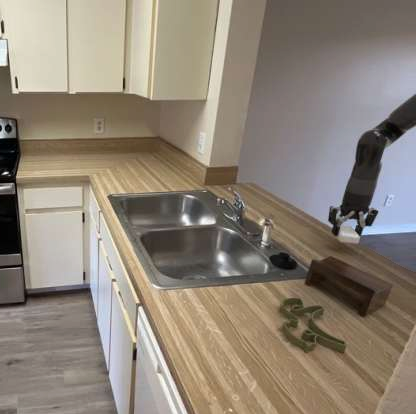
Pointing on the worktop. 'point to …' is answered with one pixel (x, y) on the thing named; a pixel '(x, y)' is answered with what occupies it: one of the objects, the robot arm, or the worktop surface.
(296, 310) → the cookie cutter
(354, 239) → the soap
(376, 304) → the dark wooden riser
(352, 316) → the worktop surface
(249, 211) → the worktop surface
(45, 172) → the worktop surface
